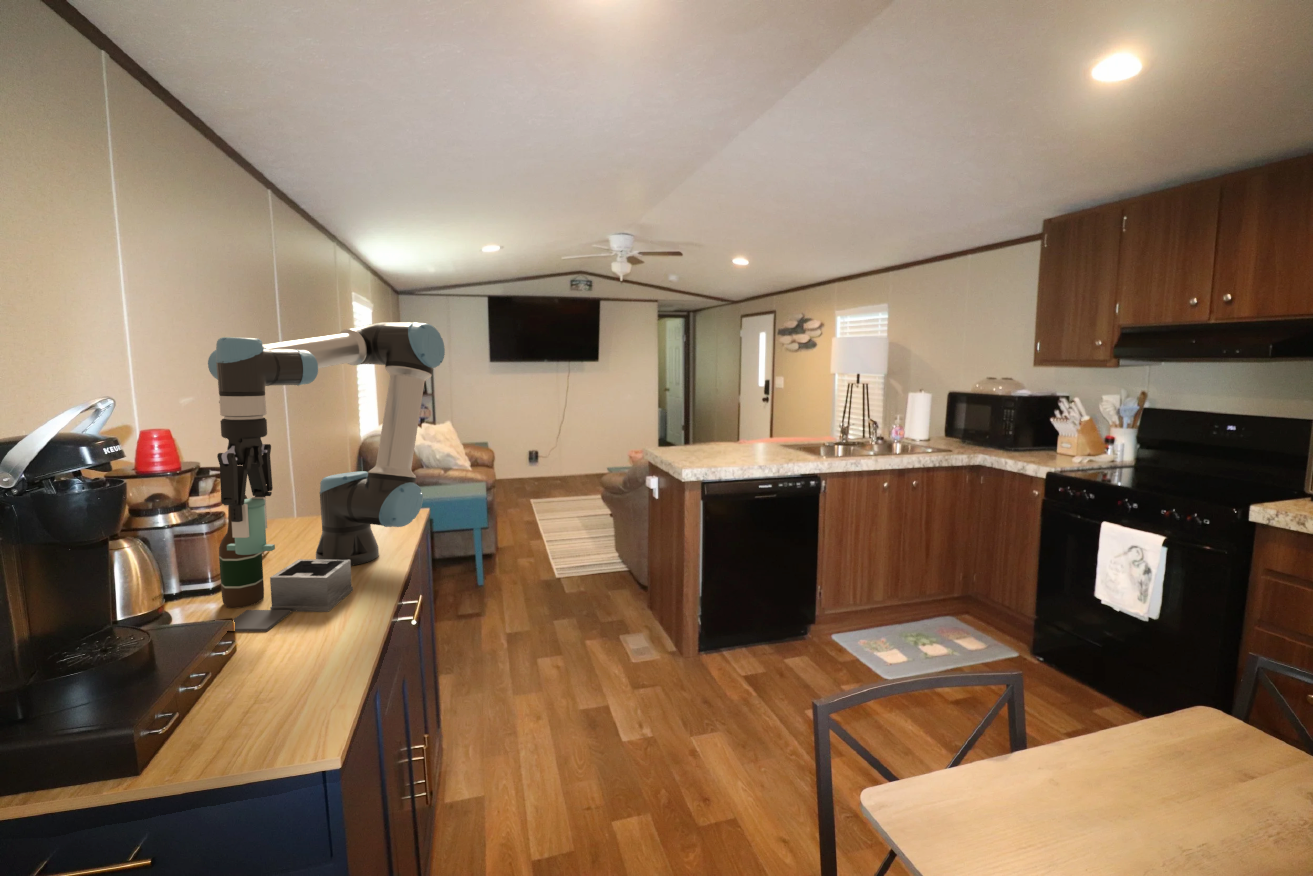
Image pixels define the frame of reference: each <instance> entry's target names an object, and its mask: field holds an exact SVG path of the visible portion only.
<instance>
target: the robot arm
mask: <svg viewBox="0 0 1313 876" xmlns="http://www.w3.org/2000/svg"><path fill="white" fill-rule="evenodd" d="M445 348H446V347H445V343H444V340H443V338H442V336H441V333H440V332H439V330H438V329H437V328H436V327H434V326H433V325H432V324H429V323H425V322H417V321H413V322H390V321H389V322H387V321H386V322H384V321H383V322H382V321H381V322H375V323H370V324H367V325H362V326H357V327H351V328H345V329H343V330H341V331H340V332H339V333H337V334H330V335H323V336H314V337H306V338H302V339H294V340H286V341H279V342H271V343H263V341H262V340H261V339H260V338H256V337H255V338H254V337H238V336H237V337H236V336H235V337H233V336H232V337H231V336H230V337H229V336H227V337H225V336H224V337H220V338H218V339H217V340H216V344H215V350H214V351H212V352H211V354H210V355H209V356H208V359H207V365H208V366H207V367H208V371H209V372H210V374H211V376H212V377H213V378H214V379H216V381H217V387H218V394H219V396H218V397H219V400H218V403H219V414H220V416H221V417H224V418H222V419H221V420H220V434H221V435H220V436H221V438H223V439H226V440H228V443H227V444H228V445H227V447H226V448H227V449H226V451H225V452H218V453H217V455H216V456H217V457H216V458H217V461H218V464H219V477H220V479H219V480H220V481H219V483H220V502H221V503H220V504H222V505H224V506H228V505H230V508H231V520H232V536H233V538H247V537H249V522H248V505H247V504H244V500H245V495H246V491H247V489H246V488H247V480H248V482H249V486H250V490H251V494H252V496H251V497H249V499H253V498H255V499H264V500H265V505H264V508H265V528H266V529H268V518H267V517H268V515H267V498H266V497H271V496H272V494H273V493H272V491H273V476H272V475H273V474H272V462H271V451H272V444H270V443H263V441H262V438H264V437H266V436H268V421H267V420H268V419H266V417H264V416H266V415H267V404H266V403H267V400H266V386H267V387H269V386H296V387H297V386H298V387H299V386H301V385H308V384H311V383H313V382H314V381H315V380H316V379H317V376H318V374H319V369H323V368H327V367H333V366H339V365H344V364H347V365H349V366H359V365H377V366H384V370H385V371H386V372H387V374H388V375H389V382H388V388H387V394H386V400H385V407H384V413H383V418H382V425H381V431H380V438H379V444H378V450H377V451H378V452H377V456H376V461H375V462H376V463H375V465H374V467H373V468H371V469H370V470H368V471H365V470H364V471H351V472H350V471H349V472H343V473H337V474H336V473H335V474H331V475H328V476H325V477H322V479H321V481H320V483H319V484H320V486H319V489H320V490H319V498H320V499H319V502H320V516H321V517H320V518H321V535H320V538H319V541H318V544H317V548H316V551H315V559H319V560H351V566H352V567H353V566H357V565H361V564H365V563H369V562H371V561H373V560H375V559H377V558H378V557H379V555H380V552H379V549H380V548H379V545H378V542H377V540H376V537H375V534H374V533H373V529H372V527H371V525H374V526H381V527H386V528H402V527H406V526H408V525H409V524H411V523H412V522H413V520H414V519H416V518H417V517H418V515H419V513H420V512H421V509H422V506H423V500H424V494H423V492H422V488H421V487H420V486H419V485H418V484H417V483H416V480H417V476H416V475H415V473H414V472H413V471H412V467H413V459H414V454H415V453H414V452H415V449H416V448H415V447H416V440H417V433H418V428H419V427H418V426H419V421H420V414H421V408H422V401H423V394H424V387H425V382H426V381H427V380H429V379H430V378H431V377H432V375H433V370H434V368H435V369H436V368H437V367H439V366H440V365H441V364H442V363H443V362H444V359H445V355H446V354H445V353H446V352H445V351H446V349H445Z"/></svg>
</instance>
